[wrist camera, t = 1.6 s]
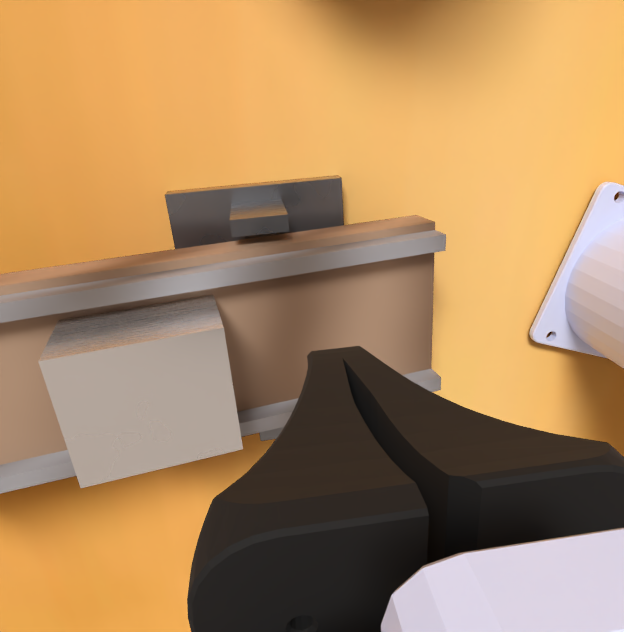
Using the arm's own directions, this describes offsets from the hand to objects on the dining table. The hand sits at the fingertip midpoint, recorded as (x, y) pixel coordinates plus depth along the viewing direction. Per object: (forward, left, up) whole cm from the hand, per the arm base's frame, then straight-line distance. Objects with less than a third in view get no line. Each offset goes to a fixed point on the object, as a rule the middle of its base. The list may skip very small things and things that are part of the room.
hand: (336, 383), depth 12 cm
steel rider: (+5, +3, -5) cm, 8 cm away
